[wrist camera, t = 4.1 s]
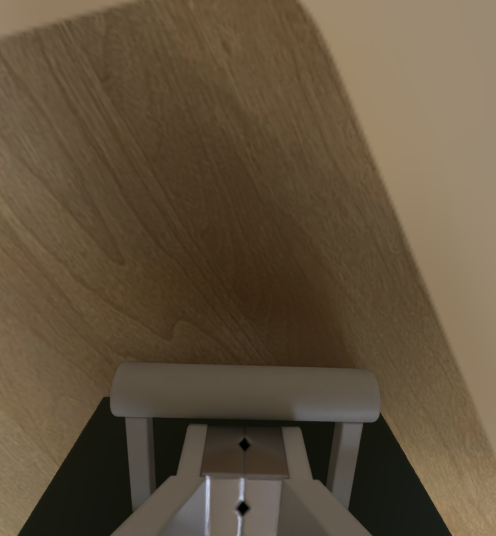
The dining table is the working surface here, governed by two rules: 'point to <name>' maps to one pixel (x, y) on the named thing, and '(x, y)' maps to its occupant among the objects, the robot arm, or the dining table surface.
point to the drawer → (237, 414)
